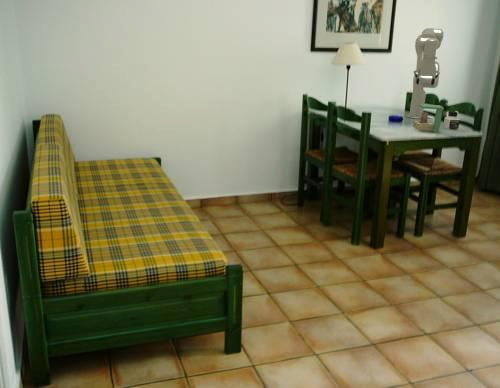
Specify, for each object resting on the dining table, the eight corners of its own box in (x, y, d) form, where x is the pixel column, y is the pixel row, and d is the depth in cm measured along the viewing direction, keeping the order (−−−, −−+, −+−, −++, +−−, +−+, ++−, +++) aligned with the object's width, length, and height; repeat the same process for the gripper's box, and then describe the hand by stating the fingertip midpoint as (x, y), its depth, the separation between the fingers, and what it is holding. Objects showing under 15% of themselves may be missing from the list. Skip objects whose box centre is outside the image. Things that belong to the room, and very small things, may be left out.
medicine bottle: (448, 130, 347) (451, 111, 343) (442, 127, 353) (445, 110, 350) (458, 130, 348) (461, 112, 344) (452, 127, 355) (455, 110, 351)
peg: (418, 126, 352) (421, 112, 348) (424, 127, 351) (427, 112, 348) (420, 128, 348) (422, 113, 345) (426, 128, 348) (428, 113, 344)
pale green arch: (415, 128, 345) (419, 104, 339) (435, 130, 344) (439, 105, 339) (419, 131, 336) (423, 106, 330) (439, 133, 335) (443, 107, 330)
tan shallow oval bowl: (413, 125, 354) (414, 120, 353) (428, 126, 354) (429, 121, 353) (418, 130, 341) (419, 124, 340) (433, 130, 341) (434, 125, 340)
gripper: (440, 58, 349) (436, 84, 355) (414, 57, 349) (410, 83, 356) (443, 59, 342) (439, 86, 348) (417, 58, 342) (413, 84, 349)
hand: (424, 84), depth 352 cm, fingers open, 9 cm apart
